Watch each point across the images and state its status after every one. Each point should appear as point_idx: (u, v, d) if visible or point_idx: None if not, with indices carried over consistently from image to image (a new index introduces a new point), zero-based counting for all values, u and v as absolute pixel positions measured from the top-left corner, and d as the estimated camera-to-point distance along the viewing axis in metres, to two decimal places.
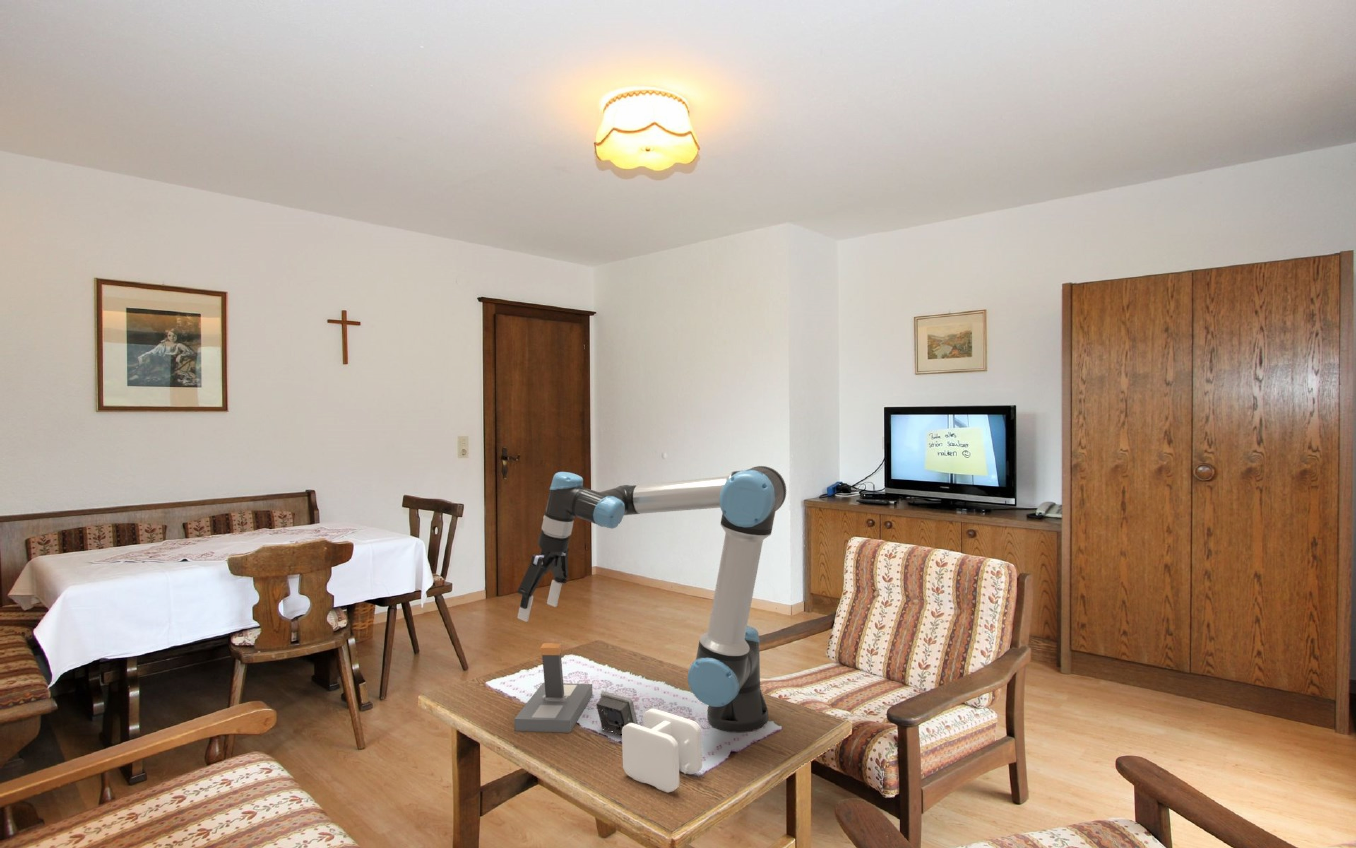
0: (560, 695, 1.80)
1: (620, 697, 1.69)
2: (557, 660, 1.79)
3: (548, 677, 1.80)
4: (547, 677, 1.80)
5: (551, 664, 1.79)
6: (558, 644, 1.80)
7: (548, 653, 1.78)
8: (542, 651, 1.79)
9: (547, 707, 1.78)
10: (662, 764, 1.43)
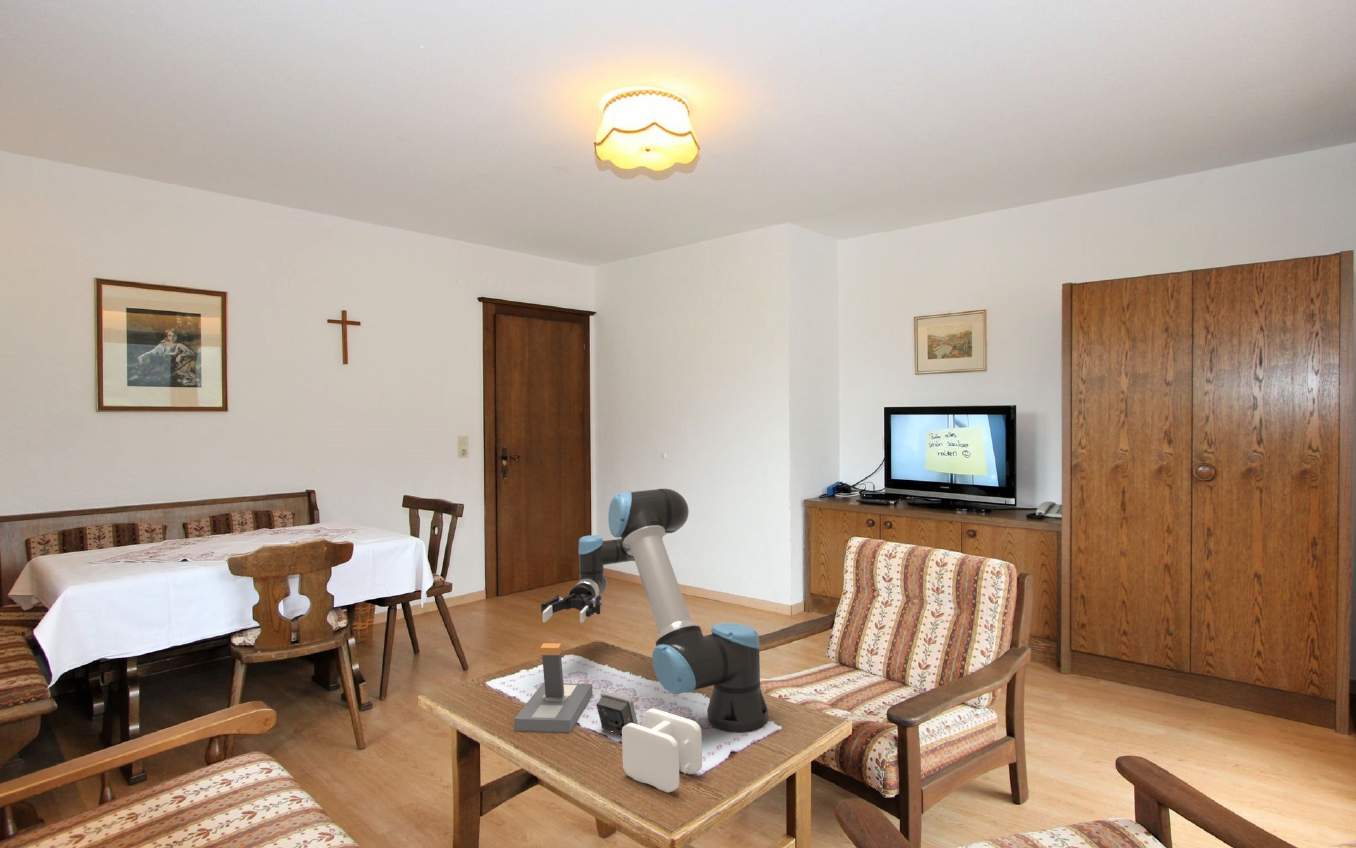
0: (560, 695, 1.80)
1: (620, 697, 1.69)
2: (557, 660, 1.79)
3: (548, 677, 1.80)
4: (547, 677, 1.80)
5: (551, 664, 1.79)
6: (558, 644, 1.80)
7: (548, 653, 1.78)
8: (542, 651, 1.79)
9: (547, 707, 1.78)
10: (662, 764, 1.43)
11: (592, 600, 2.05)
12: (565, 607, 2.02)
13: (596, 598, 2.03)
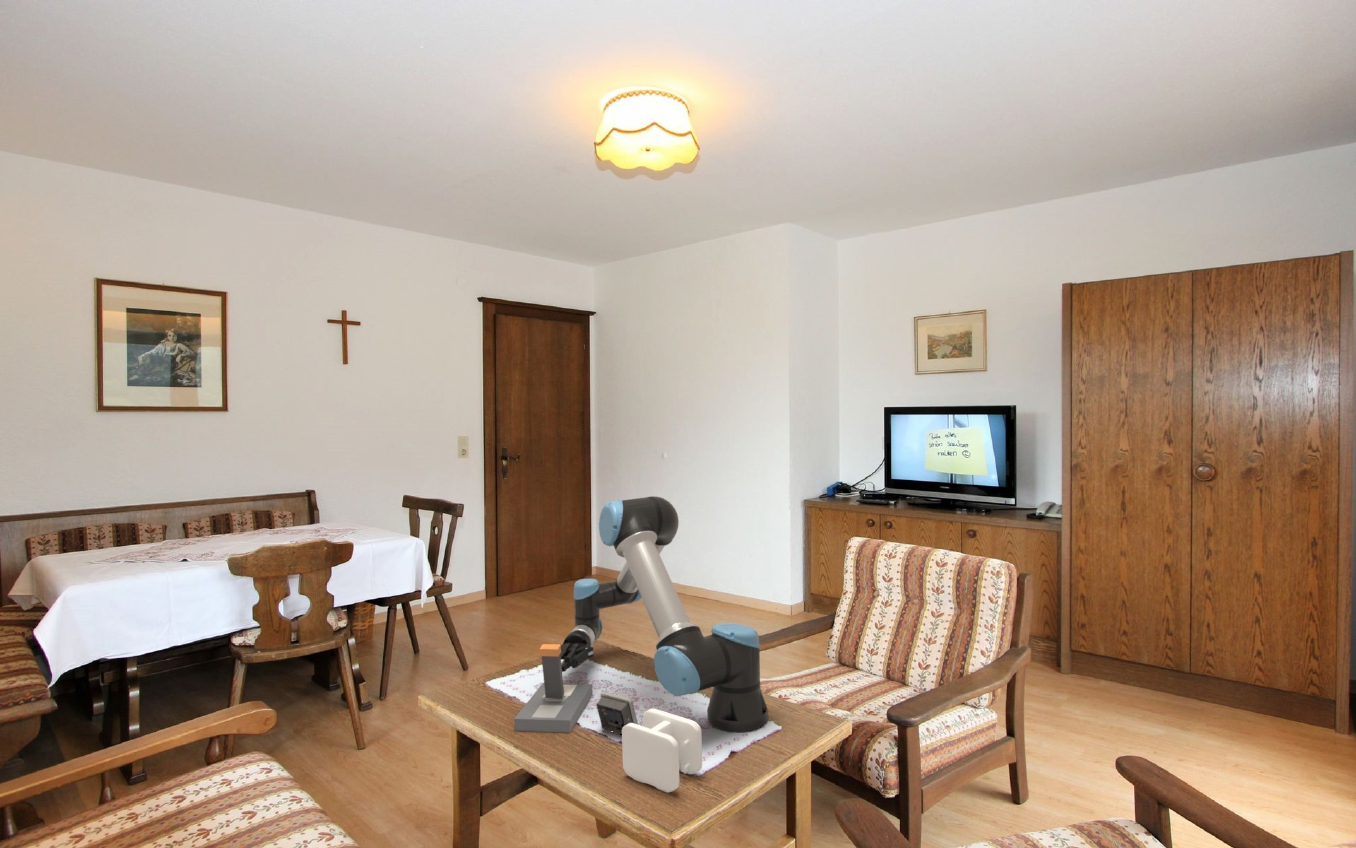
0: (560, 695, 1.80)
1: (620, 697, 1.69)
2: (557, 661, 1.78)
3: (548, 678, 1.80)
4: (547, 677, 1.80)
5: (551, 665, 1.79)
6: (557, 645, 1.79)
7: (547, 654, 1.78)
8: (541, 652, 1.78)
9: (547, 707, 1.78)
10: (662, 764, 1.43)
11: None
12: None
13: (585, 649, 1.96)
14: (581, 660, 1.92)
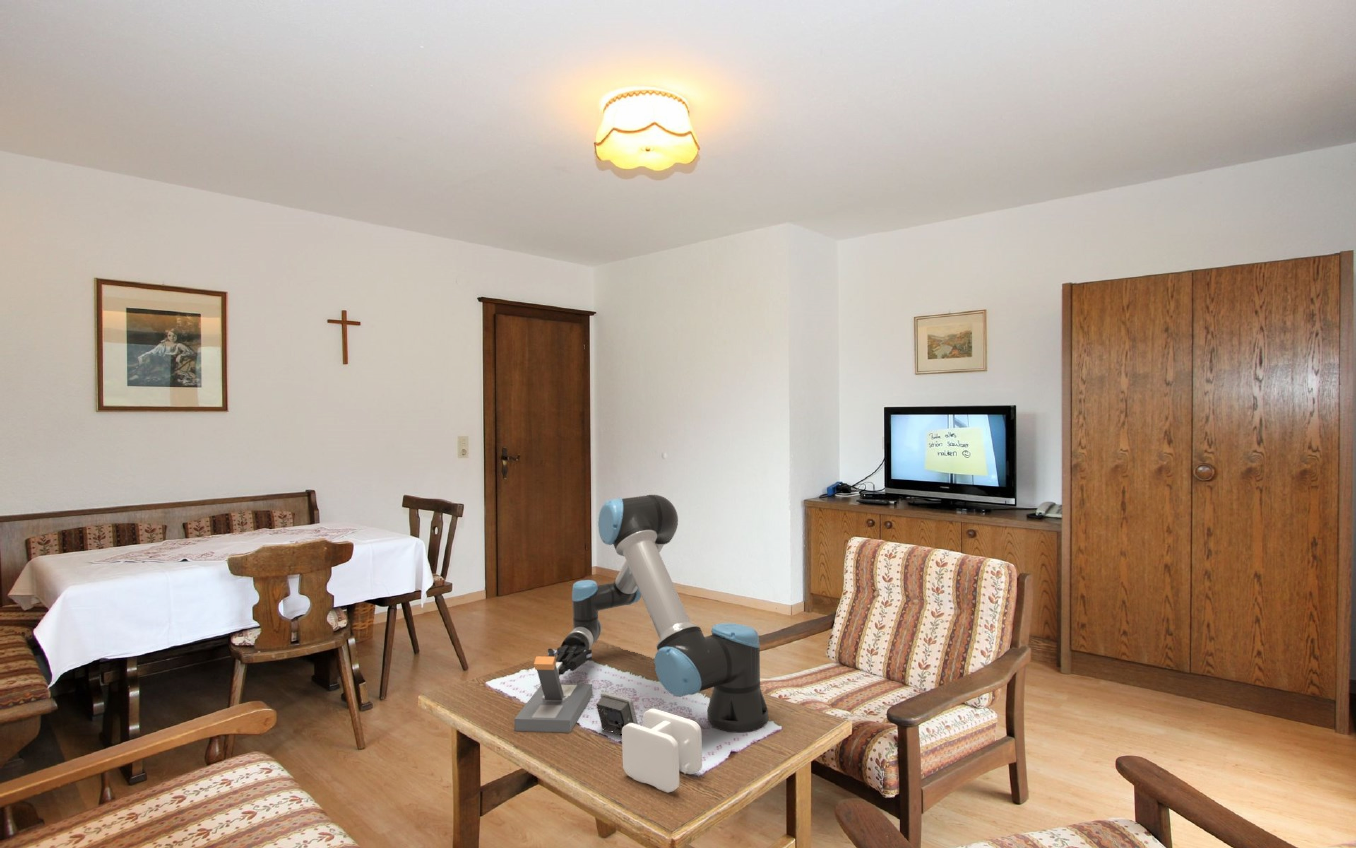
0: (559, 698, 1.80)
1: (620, 697, 1.69)
2: (553, 672, 1.75)
3: (545, 685, 1.78)
4: (544, 685, 1.78)
5: (547, 676, 1.76)
6: (552, 658, 1.74)
7: (542, 668, 1.74)
8: (536, 666, 1.74)
9: (547, 707, 1.78)
10: (662, 764, 1.43)
11: None
12: None
13: (583, 652, 1.94)
14: (579, 663, 1.90)
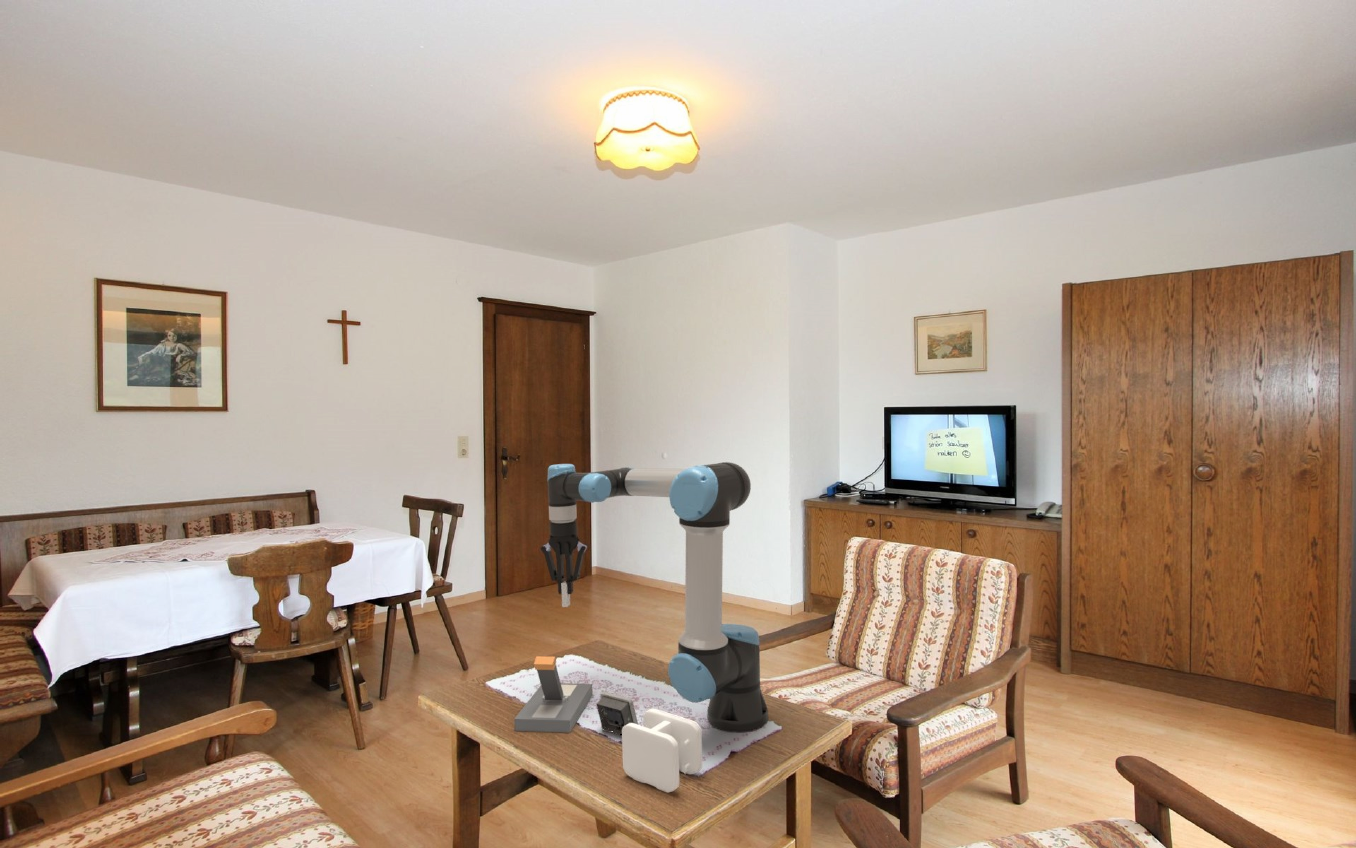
0: (559, 698, 1.80)
1: (620, 697, 1.69)
2: (553, 672, 1.75)
3: (545, 685, 1.78)
4: (544, 685, 1.78)
5: (547, 676, 1.76)
6: (552, 658, 1.74)
7: (542, 668, 1.74)
8: (536, 666, 1.74)
9: (547, 707, 1.78)
10: (662, 764, 1.43)
11: None
12: None
13: (578, 554, 1.91)
14: (580, 567, 1.93)
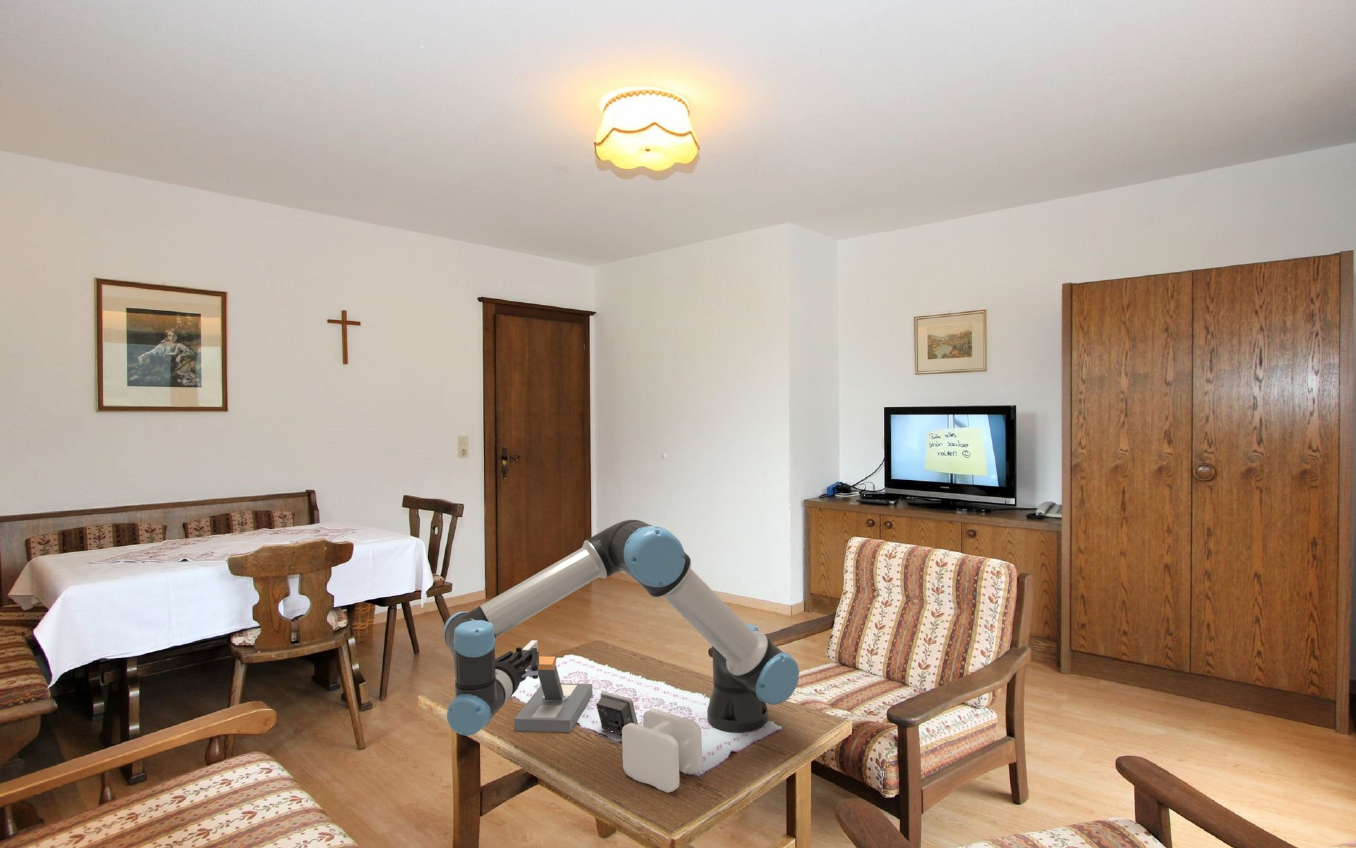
0: (559, 698, 1.80)
1: (620, 697, 1.69)
2: (553, 672, 1.75)
3: (545, 685, 1.78)
4: (544, 685, 1.78)
5: (547, 676, 1.76)
6: (552, 658, 1.74)
7: (542, 668, 1.74)
8: None
9: (547, 707, 1.78)
10: (662, 765, 1.43)
11: None
12: (511, 662, 1.54)
13: None
14: (537, 661, 1.56)
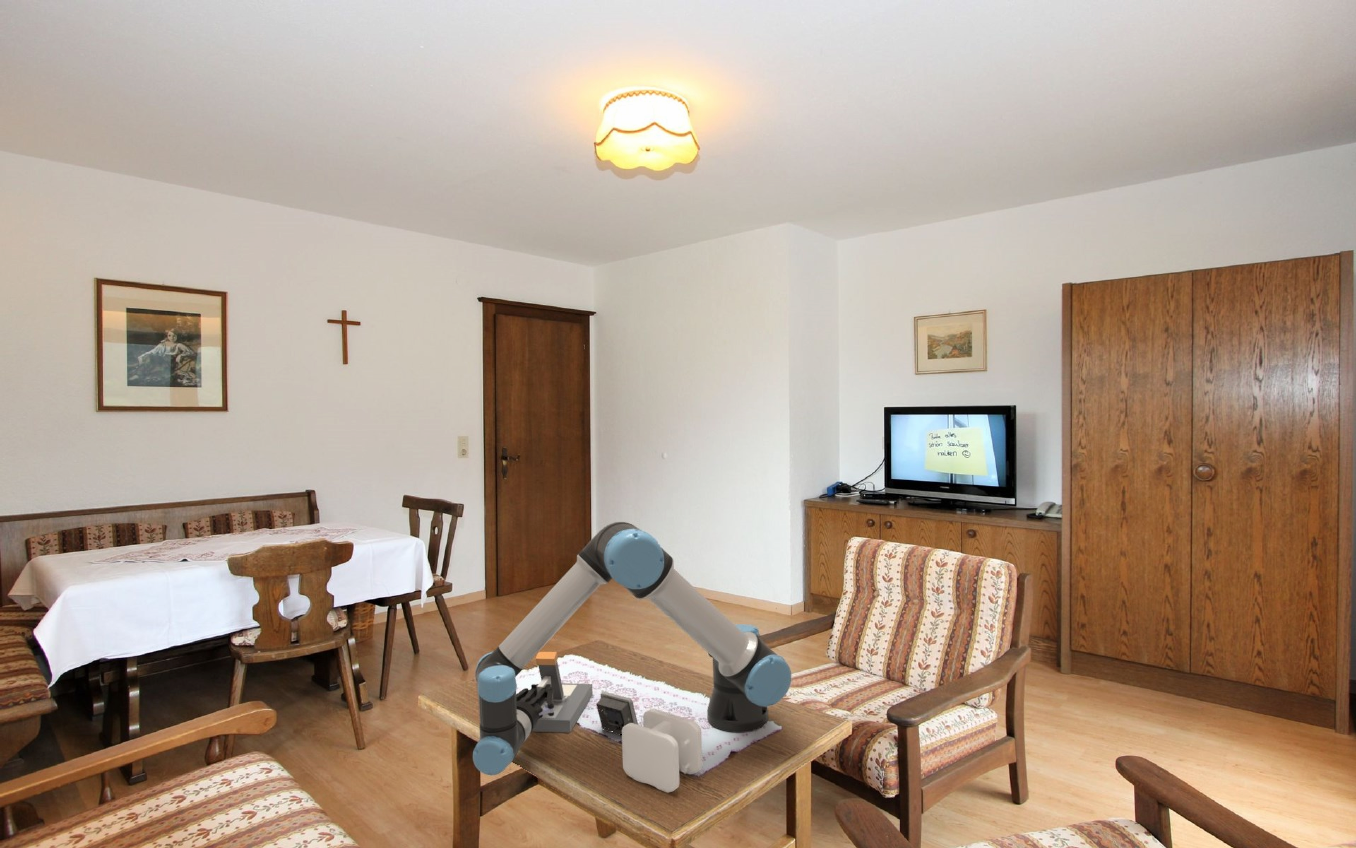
0: (560, 697, 1.80)
1: (620, 697, 1.69)
2: (554, 668, 1.76)
3: None
4: None
5: (548, 672, 1.77)
6: (553, 653, 1.76)
7: (544, 663, 1.75)
8: (538, 661, 1.75)
9: None
10: (662, 765, 1.43)
11: None
12: (528, 700, 1.64)
13: None
14: (552, 698, 1.66)
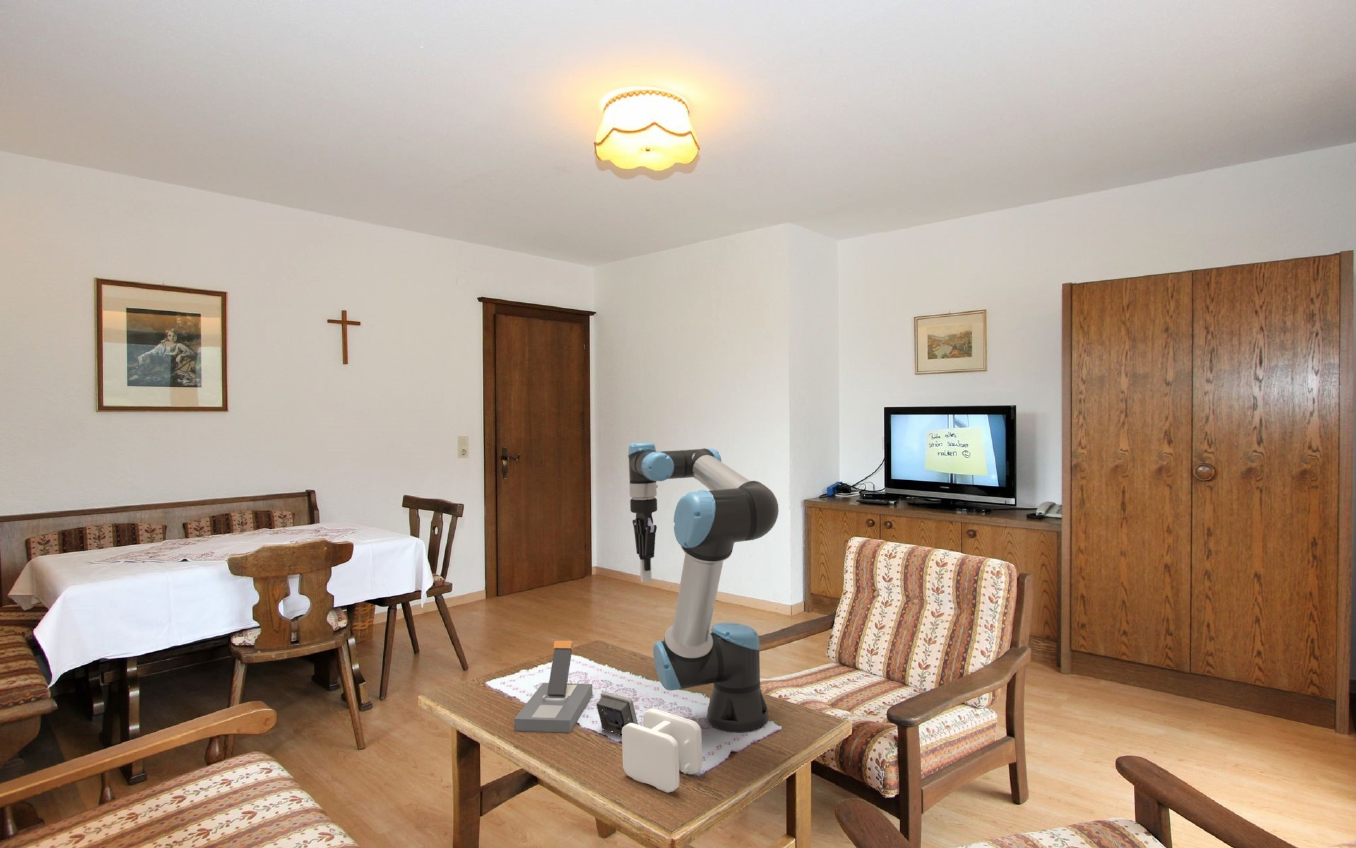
0: (562, 691, 1.82)
1: (620, 697, 1.69)
2: (568, 653, 1.88)
3: (555, 672, 1.85)
4: (554, 671, 1.86)
5: (561, 658, 1.88)
6: None
7: (561, 646, 1.89)
8: (555, 644, 1.90)
9: (547, 707, 1.78)
10: (662, 765, 1.43)
11: None
12: None
13: (646, 533, 1.92)
14: (651, 546, 1.93)
